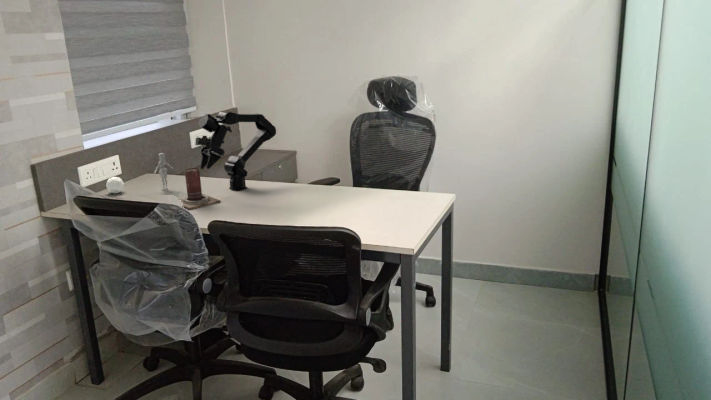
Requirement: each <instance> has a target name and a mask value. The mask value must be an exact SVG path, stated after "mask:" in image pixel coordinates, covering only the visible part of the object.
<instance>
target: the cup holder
mask: <svg viewBox="0 0 711 400" xmlns="http://www.w3.org/2000/svg"><path fill="white" fill-rule="evenodd" d="M179 200H181V202H182V203H183V206H184V207H185V208H184V207H183V208H184V209H186V208H187V209H186V210H189V211H190V210H194V209H199V208H202V207H208V206H211V205H214V204H220V203H221V199H217V198H215V197H213V196H210V195H207V194H204V193H202V200H199V201H189V200H188V196H185V197H184V198H180V199H179Z"/></svg>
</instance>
